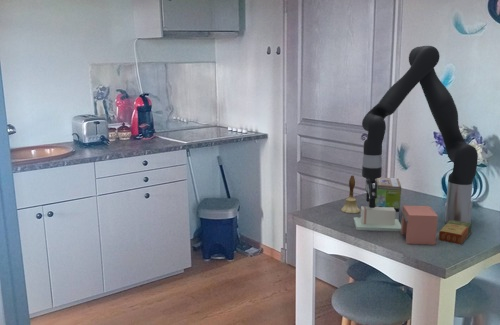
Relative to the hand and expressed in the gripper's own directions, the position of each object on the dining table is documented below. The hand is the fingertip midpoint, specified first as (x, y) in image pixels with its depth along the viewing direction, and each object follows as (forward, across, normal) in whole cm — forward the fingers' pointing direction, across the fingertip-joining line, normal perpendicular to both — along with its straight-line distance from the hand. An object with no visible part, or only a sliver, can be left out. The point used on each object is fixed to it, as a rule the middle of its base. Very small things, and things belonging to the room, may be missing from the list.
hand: (370, 204), depth 203 cm
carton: (+10, -9, -31) cm, 34 cm away
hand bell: (+9, +19, +6) cm, 22 cm away
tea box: (+9, +16, -9) cm, 21 cm away
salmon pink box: (+9, -13, -16) cm, 23 cm away
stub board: (+9, 0, -3) cm, 9 cm away
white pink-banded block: (+8, 0, -3) cm, 8 cm away
